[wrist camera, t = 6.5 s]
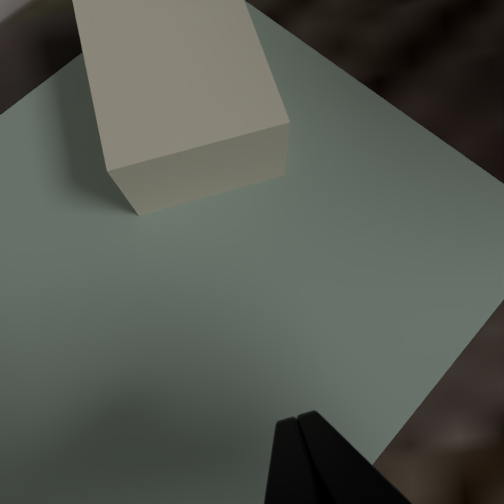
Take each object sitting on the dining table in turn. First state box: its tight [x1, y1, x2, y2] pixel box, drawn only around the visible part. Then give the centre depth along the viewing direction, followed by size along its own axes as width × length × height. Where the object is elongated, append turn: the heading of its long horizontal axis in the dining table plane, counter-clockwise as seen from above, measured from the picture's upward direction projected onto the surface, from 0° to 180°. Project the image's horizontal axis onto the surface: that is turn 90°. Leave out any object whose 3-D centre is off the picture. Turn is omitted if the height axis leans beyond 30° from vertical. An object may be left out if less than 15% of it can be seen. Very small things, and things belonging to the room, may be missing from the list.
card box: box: [72, 0, 290, 215], centre depth 16 cm, size 4×6×9 cm
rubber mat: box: [0, 0, 504, 504], centre depth 16 cm, size 20×22×1 cm
